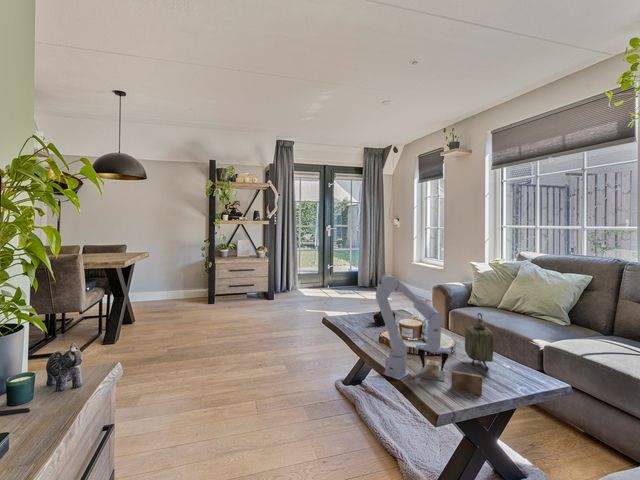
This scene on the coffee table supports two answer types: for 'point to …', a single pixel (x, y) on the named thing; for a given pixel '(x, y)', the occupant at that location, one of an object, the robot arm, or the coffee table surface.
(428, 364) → the letter block
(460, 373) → the walnut screen
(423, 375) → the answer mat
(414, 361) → the coffee table surface
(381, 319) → the film camera
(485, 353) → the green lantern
